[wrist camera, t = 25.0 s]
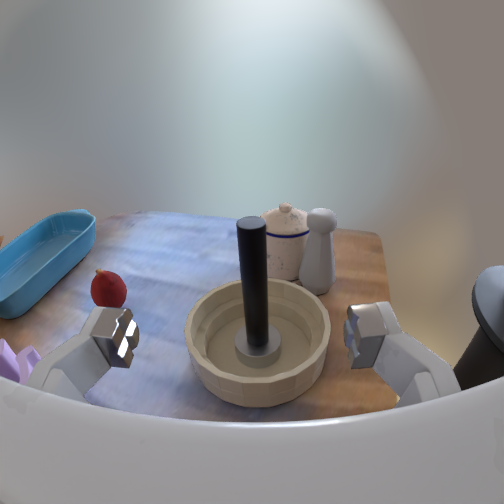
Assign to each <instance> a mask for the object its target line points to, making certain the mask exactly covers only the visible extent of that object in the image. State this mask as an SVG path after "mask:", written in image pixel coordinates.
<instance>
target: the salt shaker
mask: <svg viewBox="0 0 504 504" xmlns="http://www.w3.org/2000/svg"><path fill="white" fill-rule="evenodd" d="M336 226H337V217H336V215H335V213H334V212H332V211H331V210H328V209H323V208H320V209H319V208H318V209H313V210H312V211H310V212H309V213H308V214H307V227H308V228H309V229H310V231H309V235H308V239H307V243H306V247H305V250H304V254H303V258H302V262H301V266H300V269H299V280H300V281H301V283H302V284H303V286H304V288H305V289H307V290H308V291H309V292H311V293H312V294H314V295H320V294H323V293H327V291H328V290H329V288H330V287H331V286H332V284H333V283H334V281H335V279H336V276H335V262H334V248H333V236H332V232H333V231H334V230H335V229H336Z"/></svg>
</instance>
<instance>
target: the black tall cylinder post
mask: <svg viewBox="0 0 504 504" xmlns="http://www.w3.org/2000/svg"><path fill="white" fill-rule="evenodd" d="M236 226H237V238H238V249H239V261H240V272H241V283H242V294H243V305H244V316H245V325H244V326H243V327H241V328H240V329H239V330H238V331H237V333H236V335H235V337H234V344H235V351H236V356H237V358H238V360H239V361H240V362H241V363H242V364H244V365H245V366H247V367H250V368H257V369H259V368H265V367H268V366H271V365H272V364H274V363H275V362H276V361H277V360H278V359H279V357H280V354H281V334H280V332H279V331H278V329H277V328H275V327H274V326H272V325H271V324H269V323H268V275H267V237H266V221H265V220H264V219H263V218H261V217H256V216H249V217H244V218H241V219H239V220H238V221H237V223H236Z"/></svg>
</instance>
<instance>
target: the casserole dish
mask: <svg viewBox="0 0 504 504" xmlns="http://www.w3.org/2000/svg"><path fill="white" fill-rule="evenodd" d="M95 220H96V219H95V217H94V216H92V215H90V214H89V212H88V211H87V210H84V209H75V210H70V211H66V212H60V213H56V214H53V215H50V216H48V217H46V218H44V219H42V220H41V221H39V222H37V223H36V224H34V225H33V226H31V227H30V228H29V229H27V230H26V231H24V232H23V233H22V234H20V235H19V236H18V237H17V238H15V239H14V240H12V241H11V242H10V243H9V244H7V245H6V246H5V247H3V248H2V249H1V250H0V317H1V318H4V319H13V318H17V317H19V316H21V315H22V314H24V313H25V312H27V311H28V310H29V309H30V308H31V307H32V306H33V305H34V304H36V303H37V302H38V301H39V300H40V299H41V298H42V297H43V296H44V295H45V294H46V293H47V292H48V291H49V290H50V289H51V288H52V287H53V286H54V285H55V284H56V283H57V282H58V281H59V280H60V279H61V278H63V277H64V276H65V275H66V274H67V273H68V272H69V271H70V270H71V269H72V268H73V267H74V266H75V265H76V264H78V263H79V262H80V261H81V260H82V259H83V258H84V257H85V256H86V255H87V254H88V252H89V251H90V249H91V248H92V246H93V244H94V241H95Z"/></svg>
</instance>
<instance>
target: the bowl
mask: <svg viewBox="0 0 504 504" xmlns="http://www.w3.org/2000/svg"><path fill="white" fill-rule="evenodd" d="M268 323H269V324H271V325H272V326H274V327H275V328H277V329H278V331H279V332H280V334H281V354H280V357H279V359H278V360H277V361H276V362H275V363H274V364H272V365H271V366H268V367H265V368H259V369H257V368H250V367H247V366H245V365H244V364H242V363H241V362H240V361H239V360H238V358H237V356H236V351H235V344H234V337H235V335H236V333H237V331H238V330H239V329H240V328H241V327H243V326H244V325H245V316H244V305H243V294H242V283H241V280H236V281H232V282H228V283H226V284H223V285H221V286H219V287H217V288H214V289H212V290H211V291H210V292H208V293H207V294H206V295H204V296H203V297H202V298H200V299H199V300H198V301H197V303H196V304H195V305H194V307H193V308H192V310H191V311H190V312H189V314H188V317H187V321H186V325H185V329H184V333H185V339H186V344H187V348H188V351H189V355H190V358H191V361H192V363H193V366H194V369H195V372H196V374H197V376H198V377H199V379H200V380H201V382H202V383H203V385H204V386H205V387H206V389H208V390H209V391H210V392H212V393H213V394H215V395H216V396H218V397H219V398H221V399H222V400H224V401H227V402H230V403H233V404H237V405H240V406H244V407H272V406H275V405H279V404H282V403H285V402H288V401H291V400H294V399H295V398H296V397H298V396H299V395H301V394H302V393H304V392H305V391H307V390H308V389H309V388H311V386H312V385H313V384H314V382H315V381H316V379H317V378H318V377H319V375H320V374H321V372H322V369H323V365H324V361H325V356H326V352H327V347H328V342H329V337H330V332H331V324H330V319H329V315H328V311H327V310H326V308H325V307H324V306H323V304H322V303H321V301H320V300H319V299H318V297H316V296H315V295H314V294H312V293H311V292H309V291H308V290H307V289H305V288H303V287H302V286H299V285H297V284H294V283H291V282H289V281H286V280H280V279H274V278H268Z"/></svg>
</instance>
